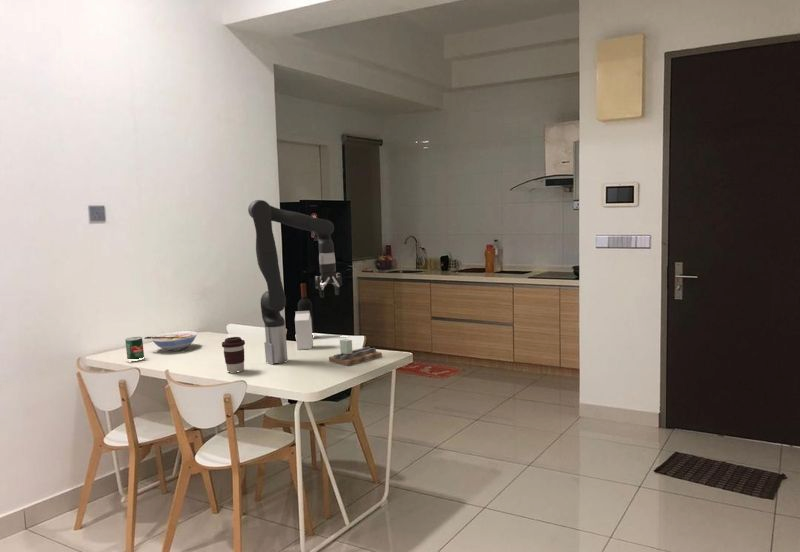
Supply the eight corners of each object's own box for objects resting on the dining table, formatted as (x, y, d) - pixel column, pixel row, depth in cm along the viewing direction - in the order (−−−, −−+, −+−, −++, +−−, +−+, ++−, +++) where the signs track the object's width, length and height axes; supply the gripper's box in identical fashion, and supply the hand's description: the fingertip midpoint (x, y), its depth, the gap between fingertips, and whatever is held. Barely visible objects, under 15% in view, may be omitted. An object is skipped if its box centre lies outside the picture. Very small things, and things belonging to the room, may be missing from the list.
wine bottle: (301, 340, 340) (296, 285, 336) (299, 337, 347) (295, 283, 344) (315, 338, 342) (311, 283, 338) (313, 336, 349) (309, 282, 346)
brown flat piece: (347, 366, 280) (347, 358, 280) (329, 361, 291) (328, 353, 290) (381, 356, 294) (381, 349, 293) (362, 352, 304) (362, 345, 304)
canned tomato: (138, 362, 311) (135, 340, 310) (124, 362, 313) (121, 340, 311) (147, 358, 319) (145, 336, 318) (133, 358, 320) (131, 336, 319)
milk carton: (311, 349, 317) (308, 312, 315) (297, 350, 318) (294, 312, 315) (313, 346, 325) (310, 309, 322) (299, 346, 325) (296, 310, 323)
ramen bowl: (208, 344, 343) (207, 329, 342) (184, 354, 321) (182, 339, 320) (168, 344, 350) (166, 329, 349) (141, 354, 328) (140, 339, 327)
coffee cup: (238, 367, 289) (235, 335, 288) (251, 370, 283) (248, 337, 281) (219, 372, 282) (216, 339, 280) (233, 375, 275) (230, 341, 274)
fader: (347, 358, 286) (346, 341, 285) (340, 356, 290) (339, 339, 289) (352, 356, 288) (351, 340, 287) (346, 355, 291) (345, 338, 291)
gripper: (334, 260, 307) (337, 293, 309) (310, 263, 298) (312, 297, 300) (344, 261, 302) (346, 294, 303) (319, 264, 292) (322, 299, 294)
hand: (329, 296), depth 301 cm, fingers open, 8 cm apart
